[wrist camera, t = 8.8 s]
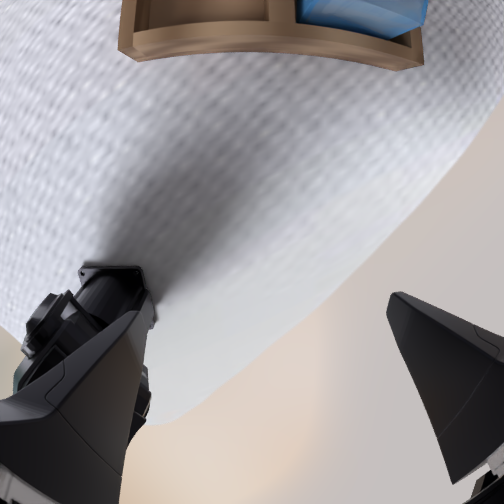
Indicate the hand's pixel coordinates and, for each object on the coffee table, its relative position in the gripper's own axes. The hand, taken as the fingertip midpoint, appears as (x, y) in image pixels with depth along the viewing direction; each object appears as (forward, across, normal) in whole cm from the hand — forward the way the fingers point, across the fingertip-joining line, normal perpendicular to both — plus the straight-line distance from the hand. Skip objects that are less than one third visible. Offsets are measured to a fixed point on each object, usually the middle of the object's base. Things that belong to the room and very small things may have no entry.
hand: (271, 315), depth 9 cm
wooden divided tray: (+12, -2, -17) cm, 21 cm away
